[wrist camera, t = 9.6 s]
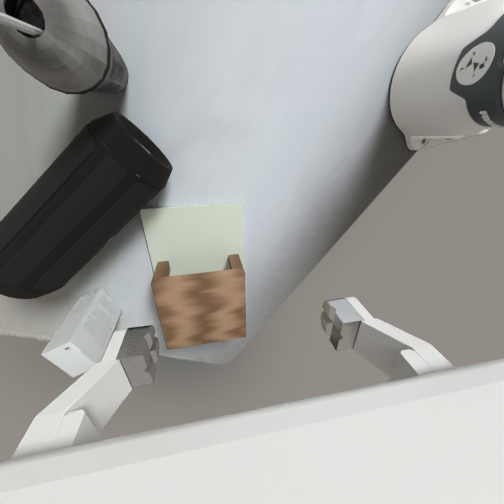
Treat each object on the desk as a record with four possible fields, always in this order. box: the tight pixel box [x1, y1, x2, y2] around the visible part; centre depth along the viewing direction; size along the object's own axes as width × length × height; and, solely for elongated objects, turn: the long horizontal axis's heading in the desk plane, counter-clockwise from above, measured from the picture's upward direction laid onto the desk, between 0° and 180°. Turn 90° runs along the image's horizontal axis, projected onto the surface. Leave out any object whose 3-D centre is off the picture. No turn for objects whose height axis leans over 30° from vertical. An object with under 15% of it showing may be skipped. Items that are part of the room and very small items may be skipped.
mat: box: [140, 203, 244, 276], centre depth 43 cm, size 16×26×1 cm, turn 0°
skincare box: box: [41, 288, 122, 377], centre depth 37 cm, size 6×4×12 cm
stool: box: [151, 254, 246, 350], centre depth 41 cm, size 14×7×14 cm
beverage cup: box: [0, 0, 128, 94], centre depth 19 cm, size 7×7×20 cm
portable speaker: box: [0, 112, 172, 299], centre depth 30 cm, size 26×10×10 cm, turn 130°
